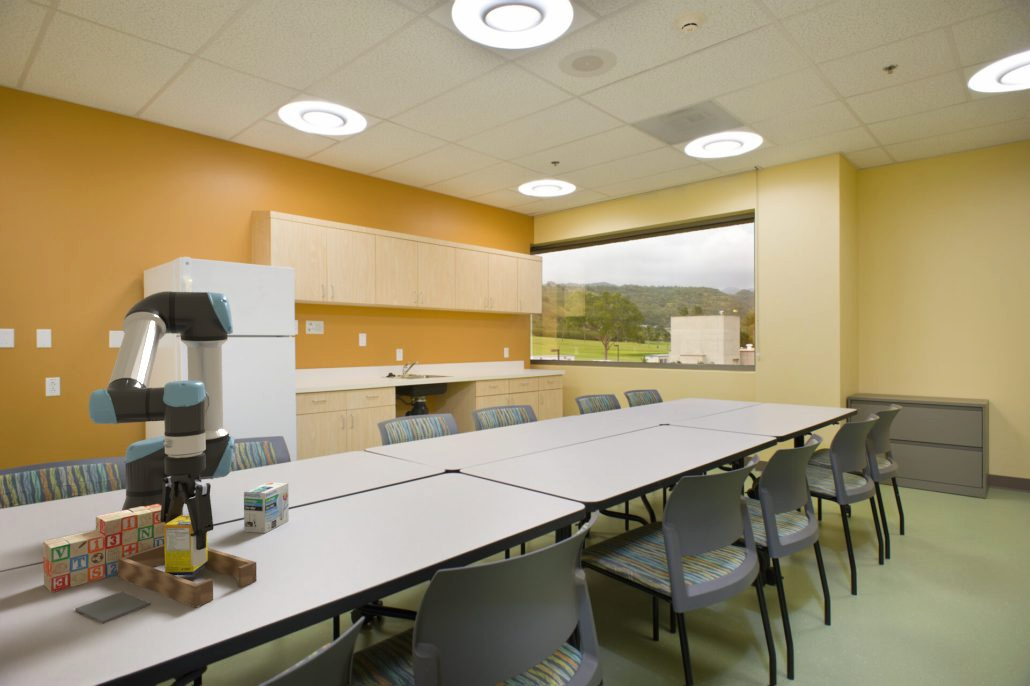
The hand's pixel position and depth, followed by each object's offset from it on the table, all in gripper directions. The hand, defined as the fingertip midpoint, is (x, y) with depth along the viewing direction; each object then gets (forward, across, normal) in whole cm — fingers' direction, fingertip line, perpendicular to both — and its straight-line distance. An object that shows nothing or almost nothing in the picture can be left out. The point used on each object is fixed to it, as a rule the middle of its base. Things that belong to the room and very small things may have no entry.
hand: (186, 559), depth 117 cm
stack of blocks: (+5, -19, -6) cm, 20 cm away
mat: (+4, 0, -14) cm, 15 cm away
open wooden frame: (+4, 0, 0) cm, 4 cm away
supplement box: (+3, 0, 0) cm, 3 cm away
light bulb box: (+5, -14, +30) cm, 33 cm away
